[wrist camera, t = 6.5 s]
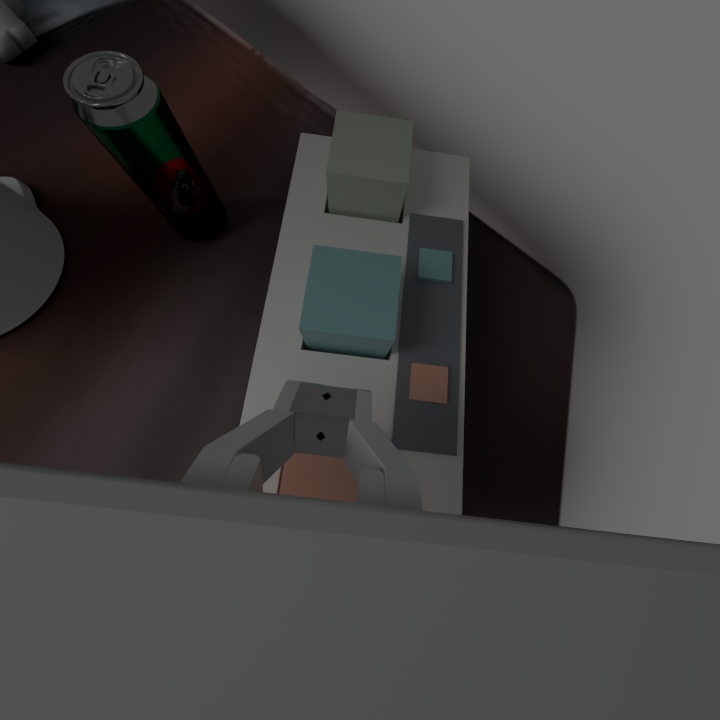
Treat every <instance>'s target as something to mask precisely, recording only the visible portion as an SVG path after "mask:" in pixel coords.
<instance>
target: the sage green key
mask: <svg viewBox="0 0 720 720" xmlns="http://www.w3.org/2000/svg"><path fill="white" fill-rule="evenodd" d="M413 125H414V121H411V120H404V119H398V118H391V117H384V116H378V115H371V114H364V113H357V112H350V111H343V110H337V112H336V118H335V123H334V129H333V135H332V141H331V146H330V152H329V158H328V164H327V169H326V180H327V194H328V208H329V214H335V215H342V216H349V217H357V218H364V219H371V220H379V221H386V222H393V223H398V221H399V217H400V214H401V210H402V206H403V202H404V199H405V195H406V191H407V187H408V183H409V171H410V160H411V148H412V136H413Z"/></svg>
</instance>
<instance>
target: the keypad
mask: <svg viewBox="0 0 720 720" xmlns="http://www.w3.org/2000/svg"><path fill="white" fill-rule="evenodd" d="M331 141H332V137H328V136H321V135H314V134H307V133H301V135H300V140H299V145H298V149H297V154H296V159H295V164H294V168H293V173H292V178H291V183H290V187H289V192H288V197H287V202H286V207H285V211H284V216H283V221H282V226H281V230H280V235H279V240H278V245H277V250H276V254H275V259H274V264H273V269H272V273H271V278H270V283H269V288H268V292H267V297H266V302H265V307H264V312H263V316H262V321H261V326H260V331H259V335H258V340H257V345H256V350H255V355H254V359H253V364H252V369H251V374H250V378H249V383H248V388H247V393H246V398H245V402H244V407H243V412H242V417H241V421H240V425H242V424H244V423H246V422H247V421H249V420H251V419H252V418H254V417H256V416H257V415H259V414H261V413H262V412H264V411H266V410H268V409H273V408H274V405H275V403H276V401H277V399H278V397H279V395H280V392H281V390H282V388H283V386H284V384H285V382H286V381H287V380H295V381H301V382H302V381H303V382H309V383H316V384H323V385H329V386H336V387H344V388H352V389H365V390H371V422H375V423H376V424H377V425H378V426H379V427H380V429H381V430H382V431H383V432H384V433H385V435H386V436H387V437H388V438H389V440H390V441H391V442H392V443H393V444H394V446H395V447H396V448H397V449H398V451H399V452H400V453H401V454H402V455H403V457H404V458H405V459H406V460H407V462H408V463H409V464H410V465H411V466H412V468H413V469H414V470H415V471H416V473H417V476H418V483H419V489H420V496H421V502H422V509H423V511H431V512H440V513H449V514H457V515H462V486H463V441H464V396H465V351H466V306H467V261H468V216H469V171H470V169H469V168H470V157H467V156H460V155H452V154H445V153H438V152H432V151H425V150H418V149H411V160H410V171H409V183H408V187H407V191H406V195H405V199H404V202H403V206H402V210H401V214H400V217H399V221H398V223H393V222H386V221H379V220H371V219H364V218H357V217H349V216H342V215H335V214H329V208H328V194H327V180H326V169H327V164H328V158H329V152H330V146H331ZM313 245H320V246H328V247H335V248H343V249H351V250H358V251H366V252H373V253H381V254H388V255H396V256H402V264H401V276H400V288H399V299H398V311H397V323H396V334H395V342H394V343H393V345H392V347H391V348H390V350H389V352H388V353H387V355H386V357H385V359H384V360H382V359H374V358H366V357H358V356H350V355H341V354H333V353H325V352H317V351H309V350H308V348H307V346H306V344H305V342H304V339H303V337H302V335H301V333H300V331H299V324H300V318H301V313H302V307H303V301H304V296H305V290H306V284H307V278H308V273H309V267H310V261H311V255H312V250H313ZM283 467H284V464H283V465H282V466H281V467H280V468H279V469H278V470H277V471H276V472H275V473H274V474H273V475H272V476H271V477H270V478H269V479H268V480H267V481H266V482H265V483H264V484H263V492H266V493H275V494H279V491H280V485H281V479H282V473H283Z"/></svg>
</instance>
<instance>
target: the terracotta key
mask: <svg viewBox="0 0 720 720" xmlns="http://www.w3.org/2000/svg"><path fill="white" fill-rule="evenodd" d="M356 489H357V486H356V484H355V482H354V480H353V478H352V476H351V474H350V472H349V470H348V468H347V466H346V464H345V462H344V459H342V458H335V457H328V456H321V455H312V454H301V453H294V455H293V456H292V457H291V458H290V459H289V460H288V461H287V462H286V463H284V467H283V473H282V479H281V485H280V491H279V494H284V495H292V496H301V497H310V498H318V499H327V500H336V501H344V502H353V503H354V498H355V494H356Z"/></svg>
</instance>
